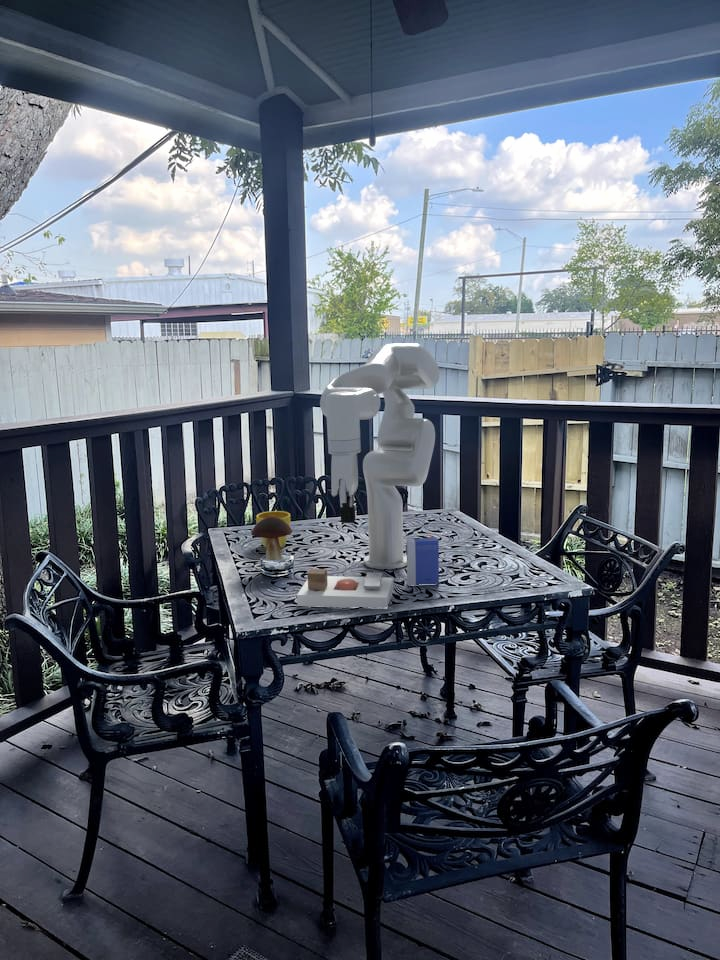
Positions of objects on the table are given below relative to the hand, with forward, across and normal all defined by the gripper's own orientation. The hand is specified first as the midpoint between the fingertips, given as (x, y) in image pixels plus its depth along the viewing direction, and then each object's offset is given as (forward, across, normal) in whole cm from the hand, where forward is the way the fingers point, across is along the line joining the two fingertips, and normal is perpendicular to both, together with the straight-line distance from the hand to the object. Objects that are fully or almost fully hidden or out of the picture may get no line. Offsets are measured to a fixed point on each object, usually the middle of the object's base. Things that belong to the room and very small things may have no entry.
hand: (348, 521), depth 155 cm
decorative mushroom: (+19, -16, -24) cm, 35 cm away
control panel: (+18, +3, -1) cm, 18 cm away
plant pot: (+20, -38, -30) cm, 52 cm away
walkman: (+19, -8, +17) cm, 27 cm away
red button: (+16, +3, -1) cm, 17 cm away
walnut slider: (+15, +5, -7) cm, 17 cm away
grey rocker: (+14, +2, +6) cm, 16 cm away
